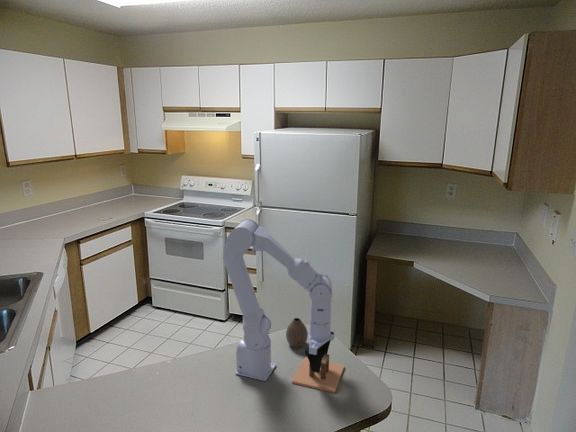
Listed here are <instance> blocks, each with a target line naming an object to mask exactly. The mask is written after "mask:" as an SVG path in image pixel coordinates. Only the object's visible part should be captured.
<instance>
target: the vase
mask: <svg viewBox="0 0 576 432" xmlns="http://www.w3.org/2000/svg"><path fill="white" fill-rule="evenodd" d="M307 329H308V328H307V326H306V325H305V323H303V322H302V319H301V318H300V317H295V318H293V320H292V321H291V322H290V323H289V324H288V327H287V328H286V332H285V334H286V335H285V338H286V341H287V343H288V344H289V345H290V346H291V347H293V348H301V347H303V346H304V345H305V344H306V343H307V340H308V338H309V332H308V330H307Z"/></svg>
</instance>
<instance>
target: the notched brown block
mask: <svg viewBox="0 0 576 432" xmlns="http://www.w3.org/2000/svg"><path fill="white" fill-rule="evenodd" d="M329 362H330V354H328V353H327V354H325V355H324V357H323V359H322V363H321V379H325V378H326V372H327V373H328V371H329ZM314 375H315V372H312V370H311V367H310V365H309V376H311V377H314Z"/></svg>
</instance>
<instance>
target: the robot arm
mask: <svg viewBox="0 0 576 432" xmlns="http://www.w3.org/2000/svg"><path fill="white" fill-rule="evenodd" d="M250 248H252V249H251V252H260V251H262V252H265V253H267V255H269V256H270V257H272V258H273V259H274V260H276V261H277V262H278V263H280V264H281V265H283V266H284V267H285V268H286V269H287V275H288V276H289V277H290V278H291V279H293V280H294V281H295V282H296V283H297V284H298V285H300V286H301V287H302V288H303V289H304V290H305V291H308V292H309V298H310V299H311V302H310V303H309V304H310V305H309V306H310V307H309V308H310V309H309V332H308V338H309V339H308V341H309V346H308V345H306V346H305V348H304V351H303V352H304V354H305V356H306V358H308V360H309V363H310V367H311V370H312V372H317V373H319V371H320V368H321V363H322V359H323V357H324V355H325V354H328V353H329V348H330V344H331V341H334V340H335V332H334V331H331V330H332V329H331V326H332V325H331V324H332V304H331V303H332V297H333V289H332V288H333V283H332V281H331V279H330V278H329V276H328V275H327V274H323V273H322V272H319V271H317V270H316V269H315V268H314V267H313V266H311V262H310V260H308V259H306V260H305V259H303V258H297V257H296V258H295V257H294V256H293V255H292V254H291V253H290V252H289V251H288V250H287V249H286V248H285V247H283V245H282V244H280V243H279V242H278V241H277V240H276V239H275V238H274V237H273V236H271V234H269V232H268V231H267V230H266V229H265V228H264V227H263V226H261V225H258V223H257V222H256V221H255V220H253V219H251V218H245V219H243V220H241V221H239V223H238V224H237V225H236V226H235V228H234V229H232V230H231V231H230V233H229V234H228V236H227V237H226V238H225V246H224V249H223V255H222V260H223V262H224V265H225V269H226V271H227V275H228V277H229V280H230V283H231V286H232V289H233V292H234V295H235V296H236V297H235V298H236V300H237V303H238V305H239V309H240V311H241V315H242V330H243V332H244V333H243V338H241V339H239V341H238V343H237V347H236V354H235V355H236V356H235V358H236V360H235V361H236V371H235V375H238V376H243V377H247V378H251V379H254V380H255V379H256V380H259V381H264V382H265V381H267V380H268V379H269V377H270V375H271V374H272V372H273V371H274V369H275V368H276V366H277V364H276V363H275V362H272V353H271V352H272V346H271V345H272V344H271V343H272V342H271V341H272V339H271V338H270V336H269V333H270V330H271V328H272V321H271V319H270V317H268V316H267V315H266V313H265V310H264V309H263V308H262V307H261V306H260V304H259V300H258V297H257V295H256V293H255V289H254V286H253V283H252V280H251V277H250V273H249V271H248V268H247V265H246V262H245V260H244V259H245V258H244V255H245V253H246V252H247V251H248V250H249V249H250Z"/></svg>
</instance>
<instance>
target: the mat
mask: <svg viewBox="0 0 576 432" xmlns="http://www.w3.org/2000/svg"><path fill="white" fill-rule="evenodd" d="M309 365H310V363H309V360H308V357H307V356H306V357H304V359H303V361H302V363H301V364H300V366H299V368H298V370H297V371H296V374H295V376H294V377H293V379H292V381H291V382H292V384H295V385H299V386H303V387H308V388H313V389H316V390H320V391H326V392H328V393H336V392H337V391H336V390H337V388H338V386H339V383H340V380H341V377H342V375H343V372H344V369H345V365H344V364H340V363H334V362H330V361H329V371H328V373H327V372H326V378H325V379H321V368H320V371H319V373H317V372H315V375H314V377H311V376H309Z"/></svg>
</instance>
